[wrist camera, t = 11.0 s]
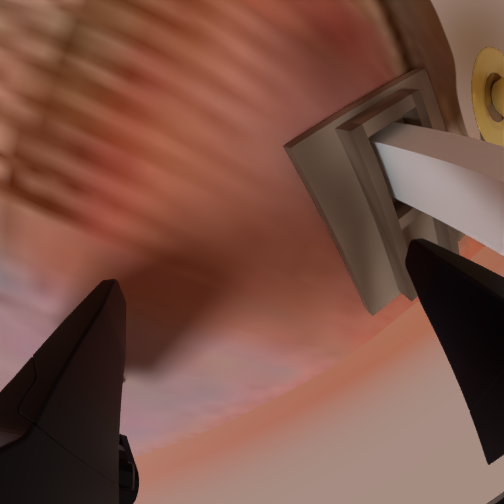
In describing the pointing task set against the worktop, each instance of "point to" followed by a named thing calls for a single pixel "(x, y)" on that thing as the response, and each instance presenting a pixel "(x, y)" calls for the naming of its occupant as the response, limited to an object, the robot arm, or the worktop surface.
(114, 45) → the worktop surface
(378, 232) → the rack
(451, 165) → the clay block
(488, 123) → the cup
